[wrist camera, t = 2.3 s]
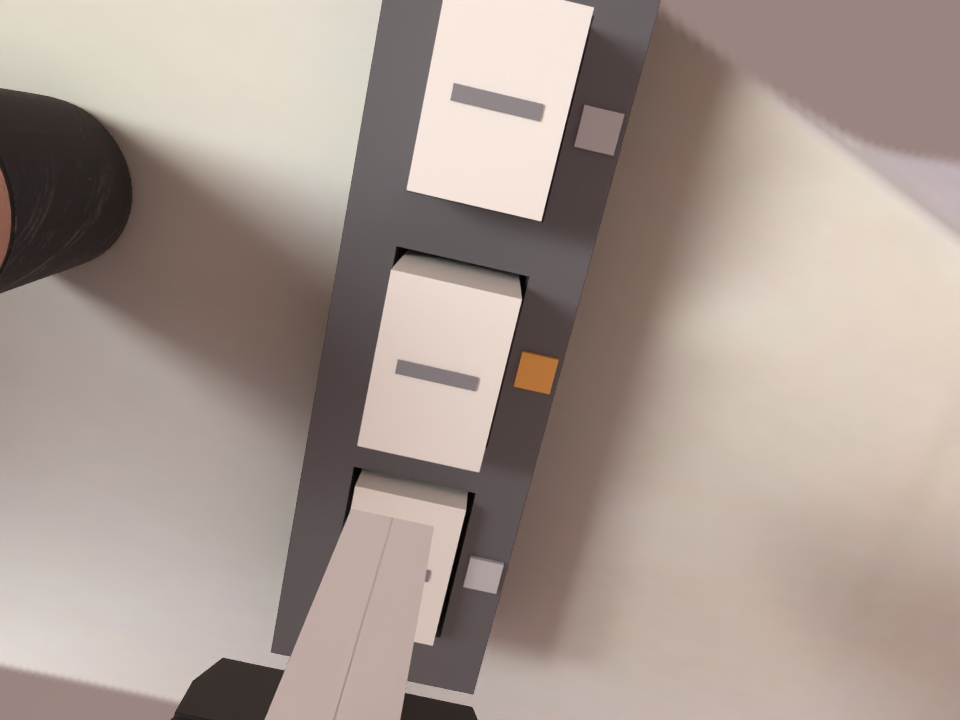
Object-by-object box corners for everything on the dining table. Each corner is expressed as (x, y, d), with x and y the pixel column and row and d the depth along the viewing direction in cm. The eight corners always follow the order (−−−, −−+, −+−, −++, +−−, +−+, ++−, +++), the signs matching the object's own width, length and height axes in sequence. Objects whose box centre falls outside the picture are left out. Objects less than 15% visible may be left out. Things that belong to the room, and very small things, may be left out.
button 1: (351, 558, 35) (327, 625, 30) (376, 436, 34) (354, 486, 29) (442, 577, 35) (432, 647, 31) (471, 457, 34) (465, 511, 29)
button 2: (379, 398, 31) (356, 446, 26) (409, 248, 29) (390, 269, 24) (482, 421, 31) (479, 473, 26) (518, 273, 29) (522, 299, 24)
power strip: (300, 586, 37) (269, 655, 32) (449, -242, 27) (437, -329, 22) (476, 623, 37) (473, 697, 32) (688, -181, 27) (729, -254, 22)
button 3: (422, 181, 28) (406, 190, 23) (458, 2, 27) (448, -29, 22) (534, 207, 28) (541, 221, 24) (577, 31, 27) (594, 7, 22)
